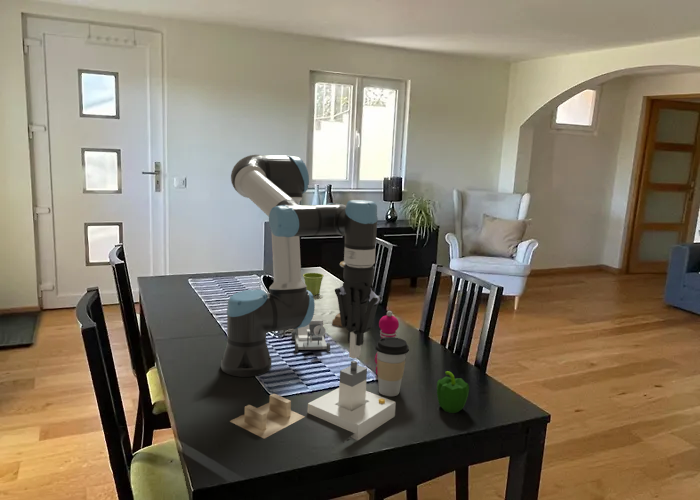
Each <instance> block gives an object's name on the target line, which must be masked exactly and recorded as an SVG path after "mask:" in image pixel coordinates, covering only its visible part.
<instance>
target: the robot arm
mask: <svg viewBox="0 0 700 500" xmlns="http://www.w3.org/2000/svg"><path fill="white" fill-rule="evenodd" d="M309 175H310V174H309V170H308V167H307V165H306V163H305V162H304V160H303V159H302V158H300V157H299V156H295V155H288V154H286V155H284V154H283V155H280V154H279V155H275V154H273V155H271V154H250V155H247V156H245V157H243V158H241V159H240V160H239V161H237V162H236V164H235V165H234V166H233V168H232V170H231V174H230V182H231V185H232V187H233V189H234V190H235V191H236V193H238V194H239V195H240V196H241V197H243V198H246V199H249V200H250V201H252V203H254V204H255V206H257V207H258V208H259V209H260V210H261V211H262V212H263V213H264V214H265V215H266V216H267V217H268V224H269V225H268V226H269V228H270V231H271V247H272V248H271V250H272V270H273V282H272V284H271V285H270V286H269V289H268V290H269V292H268V293H267V292H266V290H264V289H257V288H256V289H245V290H241V291H238V292H236V293H234V294H232V295H231V296H229V298H228V300H227V309H226V317H227V318H226V322H227V323H226V328H227V329H226V334H227V335H226V337H227V338H226V339H227V343H226V347H225V349H224V353H223V356H222V357H221V361H220V363H221V364H220V365H221V367H220V368H221V369H220V370H222V372H223V373H225V374H227V375H230V376H233V377H242V378H244V377H245V378H249V377H256V376H261V375H263V374H265V373H268V372H269V371H270V370H271V369H272V357H271V355H270V351H269V347H268V345H267V333H274V332H280V331H288V330H294V329H297V328H301V327H305V326H307V325H308V324H309V323H310V322H311V320H313V319H314V318H313V317H314V315H315V314H314V313H315V309H316V307H315V305H316V302H315V298H314V295H312V293H311V292H310V291H308V290H307V287H306V285H305V282H303V281H302V265H301V264H302V263H301V248H300V247H301V245H300V243H301V242H300V240H301V239H300V237H305V236H306V237H307V236H308V237H309V236H326V235H329V236H330V235H331V236H332V235H339V236H342V237H344V249H343V250H344V251H343V254H344V255H343V256H344V257H343V261H344V262H345V263H346V264H345V265H344V267H343V273H342V274H343V275H342V276H343V277H342V278H343V280H344V281H343V283H342V286H340V287H337V288H335V289H334V292H335V295H336V298H337V303H338V311H339V313H340V318H341V324H342V327H341V328H345V329H346V330H347V342H348V344H349V352H348V353H349V355H348V357H349V358H350V359H356V358H359V357H360V356H361V354H362V353H361V349H362V348H361V347H362V346H363V344H364V339H365V337H364V336H365V335H364V334H365V333H369V332H370V331H371V330H372V328H373V324H374V320H375V317H376V314H377V309H378V306H379V303H381V301H382V299H383V298H382V296H381V295H377V294H376V293H375V292H374V290H375V289H374V285H373V283H374V279H375V266H374V264H376V244H377V242H376V241H377V230H378V229H377V228H378V219H379V218H378V204H377V203H376V202H375V201H372V200H365V199H351V200H348V201H347V202H346V204H343V203H341V202H329V203H327V204H300V202H301V201H302V200H303V195H304V194H305V193H306V192H307V191H308V189H309V185H310V176H309Z"/></svg>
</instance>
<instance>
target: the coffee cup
mask: <svg viewBox="0 0 700 500" xmlns="http://www.w3.org/2000/svg"><path fill="white" fill-rule="evenodd" d="M375 350H376V353H377V364H376V366H377V373H378V375H377V379H378V380H377V381H378V382H377V383H378V393H379V394H381V395H382V396H386V397H395V396H398V395H399V393H400V391H401V390H400V389H401V385H402V379H403V376H404V372H405V365H406V356H407V353H409V352H410V347H409V345H408V343H407V341H406V340H404V339H402V338H400V337H385V338H381V337H380V338H379V340H378V341H377V343H375Z"/></svg>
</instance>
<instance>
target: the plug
mask: <svg viewBox="0 0 700 500" xmlns="http://www.w3.org/2000/svg"><path fill="white" fill-rule="evenodd" d="M367 373H368V368H367V367H364V366H361V365H358V361H356V360H351V361H350V365H349V366H348V367H345V368H343V369H341V370H339V384H338V385H339V387H338V388H339V406H340V407H342V408H345V409H347V410H350V411H353V410H355V409H357V408H359V407H360V406H362V405H364V404H365V397H366V391H367V377H368V376H367V375H368V374H367Z"/></svg>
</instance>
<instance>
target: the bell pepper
mask: <svg viewBox="0 0 700 500" xmlns="http://www.w3.org/2000/svg"><path fill="white" fill-rule="evenodd" d="M445 375H446V376H444V377H443V378H439V379H438V380H437V382H436V396H437V401H438V405H439V406H440V408H442V410H443V411H444V412H446V413H449V414H456V413H459V412H460V411H461V410H463V409H464V407H465V405H466V403H467V400H468V397H469V393H470V385H469V383H467V382H466V381H465V380H464V379H463V378H461V377H460V378H458V377H457V378H455V375H454V374H453V373H452V372H451V371H450V370H449V371H448V370H447V371H445Z"/></svg>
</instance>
